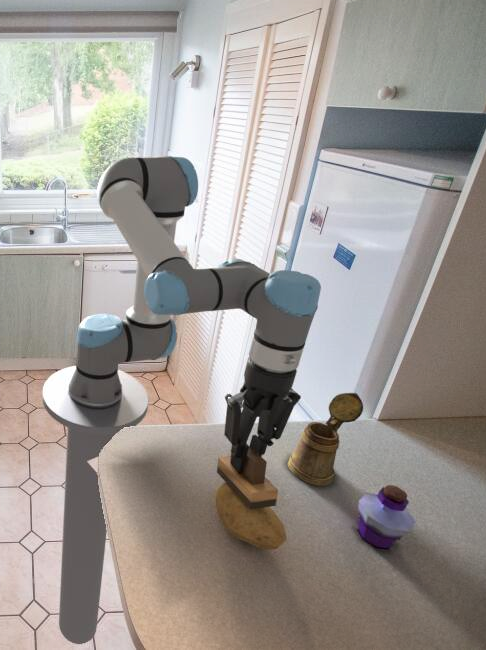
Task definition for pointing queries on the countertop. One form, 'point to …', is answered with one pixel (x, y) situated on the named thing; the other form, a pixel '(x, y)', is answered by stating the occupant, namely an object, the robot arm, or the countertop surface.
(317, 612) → the countertop surface
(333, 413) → the wooden mug
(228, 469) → the brush
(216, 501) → the potato
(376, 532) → the potion bottle
